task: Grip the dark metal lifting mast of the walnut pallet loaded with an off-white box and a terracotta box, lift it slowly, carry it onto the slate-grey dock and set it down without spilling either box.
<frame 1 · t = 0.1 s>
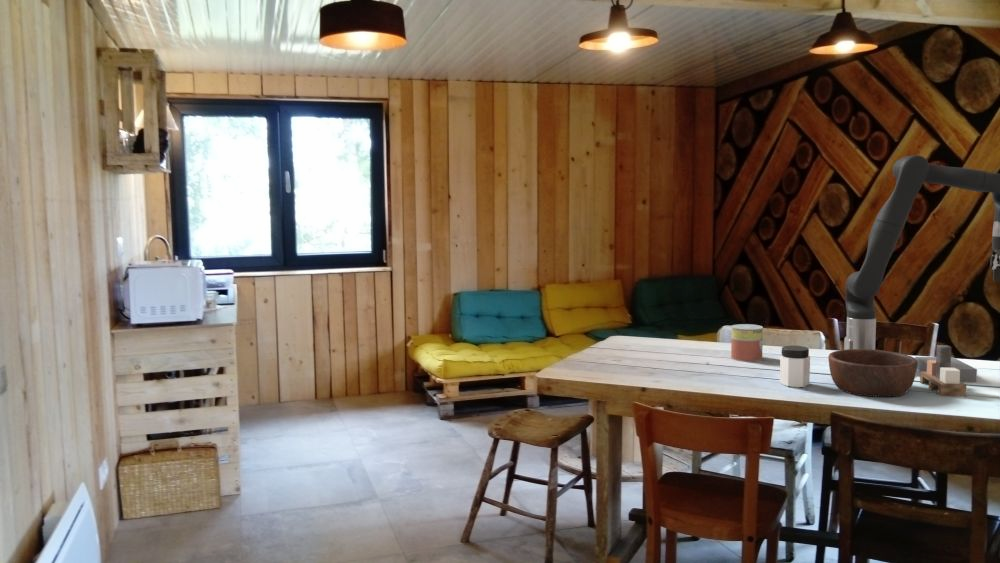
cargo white: (949, 381, 228), point 4 cm above the table, touching pallet
dock: (944, 374, 251), on the table
canned food: (746, 358, 282), on the table
wooden bowl: (871, 389, 236), on the table
jar: (794, 385, 244), on the table
cargo terracotta: (936, 373, 238), point 4 cm above the table, touching pallet
pallet: (942, 389, 234), on the table, touching cargo terracotta, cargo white
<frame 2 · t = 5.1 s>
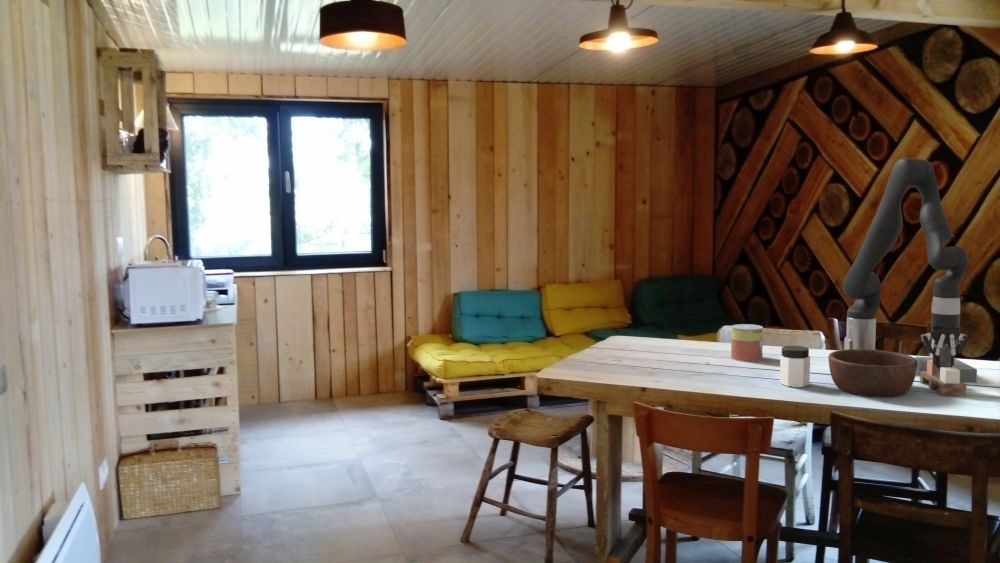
hand: (943, 366, 233), 7 cm above the table, fingers closed on pallet, 3 cm apart
pallet: (942, 389, 234), on the table, touching cargo terracotta, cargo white, gripper
everything else where it was.
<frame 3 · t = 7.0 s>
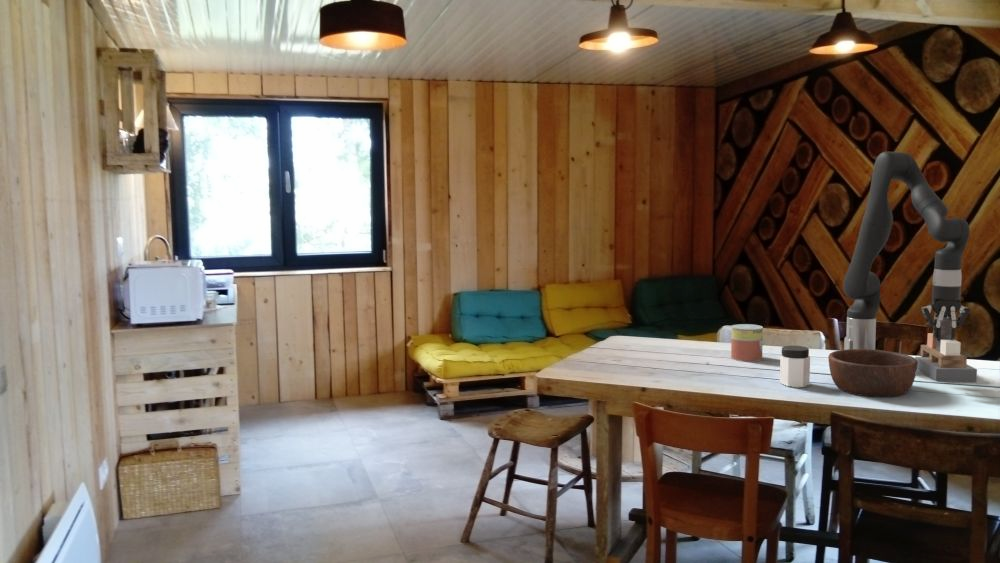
hand: (943, 339, 232), 16 cm above the table, fingers closed on pallet, 3 cm apart
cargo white: (949, 354, 227), point 12 cm above the table, touching pallet
cargo terracotta: (936, 347, 237), point 12 cm above the table, touching pallet
pallet: (942, 361, 233), point 9 cm above the table, touching cargo terracotta, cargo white, gripper
everything else where it was.
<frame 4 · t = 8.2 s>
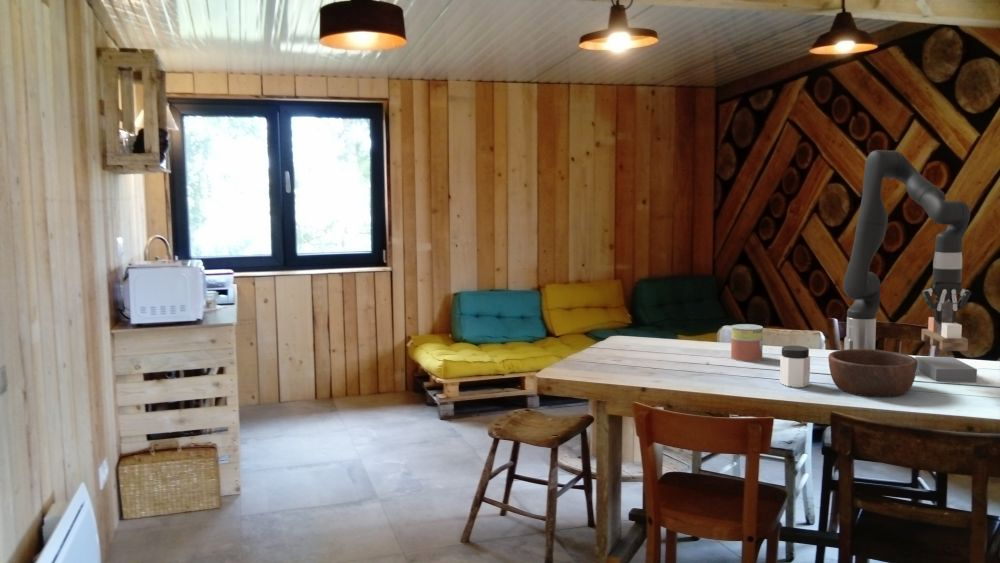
hand: (944, 322, 231), 21 cm above the table, fingers closed on pallet, 3 cm apart
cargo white: (951, 337, 227), point 17 cm above the table, touching pallet
cargo terracotta: (937, 330, 237), point 17 cm above the table, touching pallet
pallet: (943, 345, 232), point 14 cm above the table, touching cargo terracotta, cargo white, gripper
everything else where it was.
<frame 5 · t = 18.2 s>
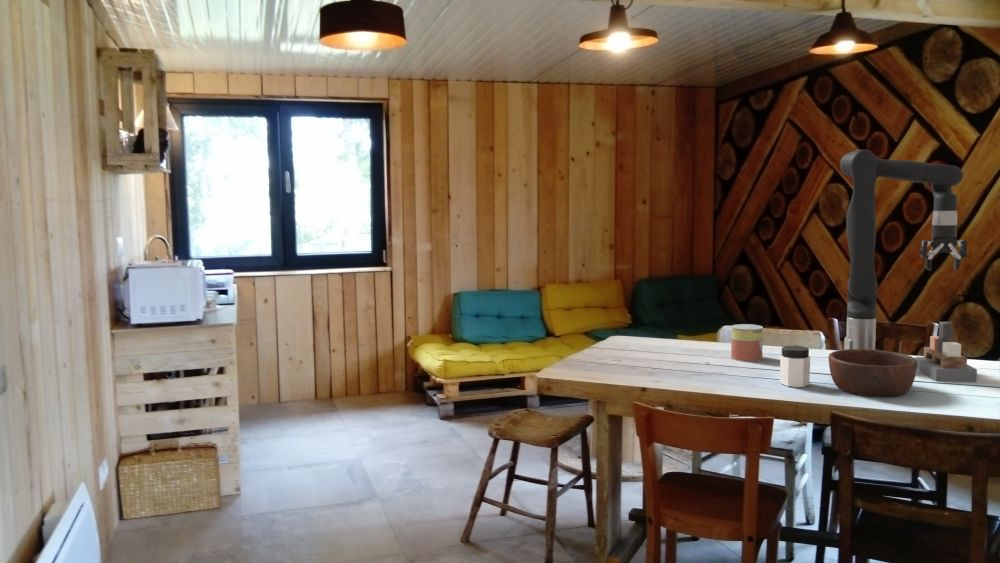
hand: (942, 270, 264), 33 cm above the table, fingers open, 8 cm apart
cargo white: (951, 355, 245), point 8 cm above the table, touching pallet
cargo terracotta: (938, 349, 255), point 8 cm above the table, touching pallet
pallet: (944, 362, 251), point 4 cm above the table, touching cargo terracotta, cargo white, dock
everything else where it was.
at the end: pallet 0.1 cm off-centre on the dock, point 4.0 cm above the dock's base; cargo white inside the target area on the pallet (5.0 cm from its centre), point 3.6 cm above the pallet's base; cargo terracotta inside the target area on the pallet (5.0 cm from its centre), point 3.6 cm above the pallet's base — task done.
